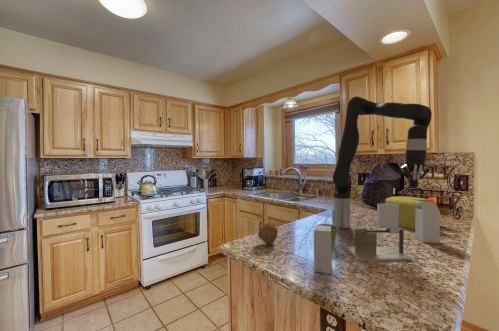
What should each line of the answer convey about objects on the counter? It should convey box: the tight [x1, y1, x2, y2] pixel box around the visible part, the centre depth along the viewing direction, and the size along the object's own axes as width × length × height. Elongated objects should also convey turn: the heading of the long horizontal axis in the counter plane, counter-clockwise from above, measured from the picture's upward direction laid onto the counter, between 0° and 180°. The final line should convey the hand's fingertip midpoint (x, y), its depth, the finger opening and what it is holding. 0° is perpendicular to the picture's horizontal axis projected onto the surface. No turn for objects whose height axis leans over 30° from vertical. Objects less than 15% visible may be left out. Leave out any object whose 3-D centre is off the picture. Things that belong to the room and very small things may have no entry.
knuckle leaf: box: [376, 203, 401, 234], centre depth 94 cm, size 8×3×12 cm, turn 90°
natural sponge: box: [257, 222, 279, 246], centre depth 105 cm, size 9×9×10 cm
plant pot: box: [318, 223, 340, 248], centre depth 104 cm, size 9×9×9 cm
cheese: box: [385, 195, 435, 229], centre depth 142 cm, size 26×26×15 cm
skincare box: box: [313, 224, 333, 275], centre depth 83 cm, size 8×6×15 cm
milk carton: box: [414, 201, 441, 244], centre depth 111 cm, size 7×7×19 cm
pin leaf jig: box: [345, 228, 414, 262], centre depth 94 cm, size 21×12×11 cm, turn 90°
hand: (413, 188), depth 102 cm, fingers closed
